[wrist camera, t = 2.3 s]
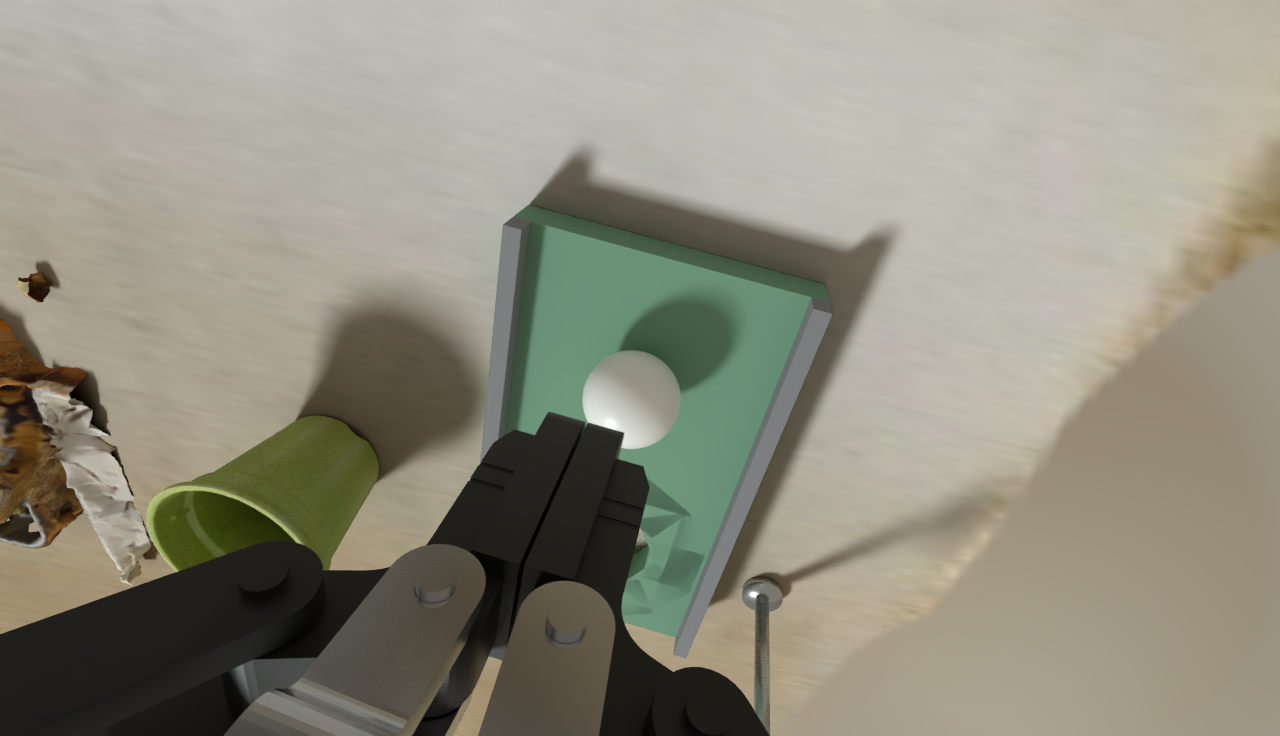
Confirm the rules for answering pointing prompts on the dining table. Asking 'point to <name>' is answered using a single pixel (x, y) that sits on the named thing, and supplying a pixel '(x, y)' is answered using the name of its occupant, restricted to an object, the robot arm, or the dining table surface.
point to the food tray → (58, 456)
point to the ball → (633, 397)
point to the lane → (697, 355)
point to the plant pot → (269, 496)
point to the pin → (762, 638)
